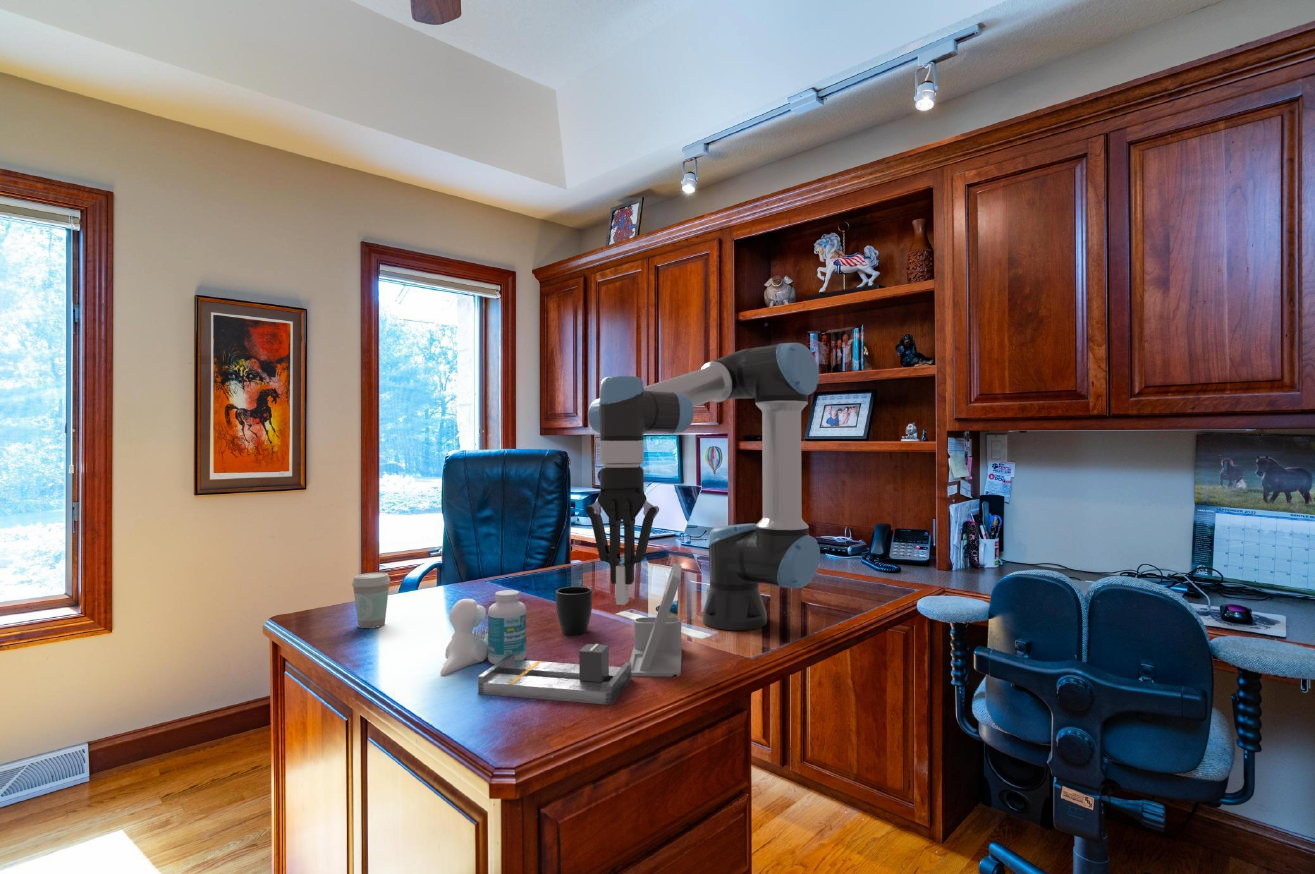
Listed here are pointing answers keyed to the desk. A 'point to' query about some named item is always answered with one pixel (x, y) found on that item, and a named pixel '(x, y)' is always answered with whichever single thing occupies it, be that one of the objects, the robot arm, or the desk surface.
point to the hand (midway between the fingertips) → (622, 602)
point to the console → (551, 681)
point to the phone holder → (659, 637)
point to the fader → (594, 662)
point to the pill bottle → (506, 627)
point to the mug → (574, 609)
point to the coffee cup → (371, 598)
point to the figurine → (466, 636)
